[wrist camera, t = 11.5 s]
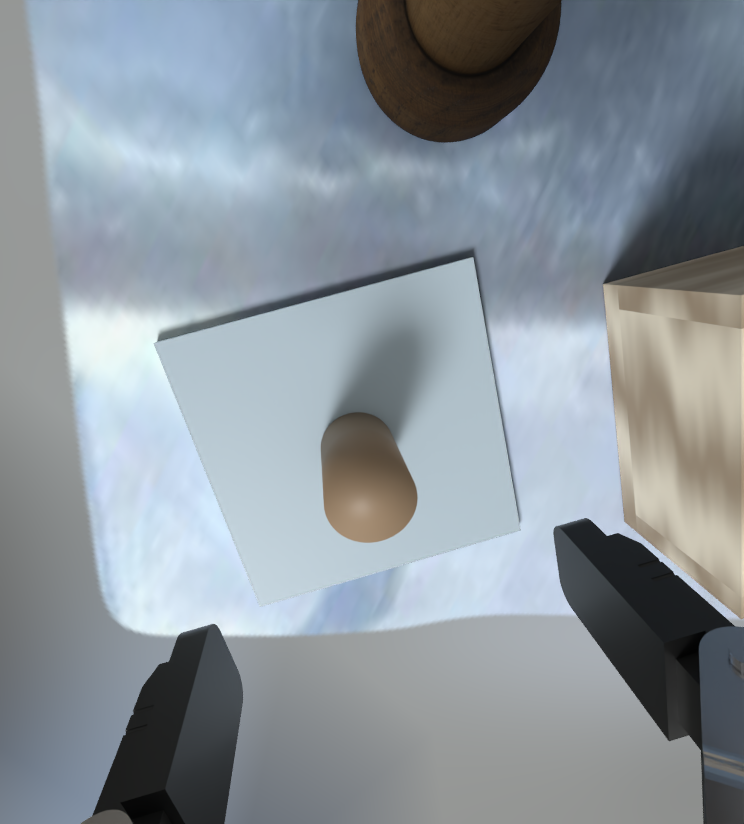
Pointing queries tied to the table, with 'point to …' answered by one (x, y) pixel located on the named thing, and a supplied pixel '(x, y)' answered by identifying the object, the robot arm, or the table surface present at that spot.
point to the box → (683, 414)
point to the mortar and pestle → (453, 60)
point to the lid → (349, 429)
